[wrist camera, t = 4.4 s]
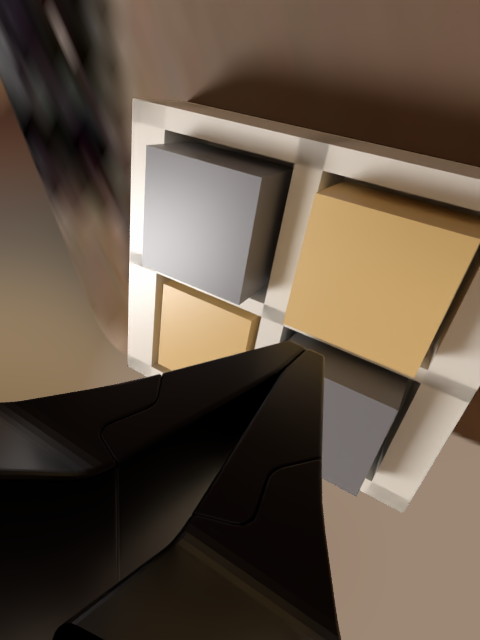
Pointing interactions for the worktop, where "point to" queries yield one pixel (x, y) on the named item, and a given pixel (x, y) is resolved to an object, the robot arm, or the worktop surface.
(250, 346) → the ochre key
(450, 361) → the keypad
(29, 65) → the worktop surface
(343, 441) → the charcoal key far
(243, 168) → the charcoal key near
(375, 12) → the worktop surface
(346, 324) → the ochre key
